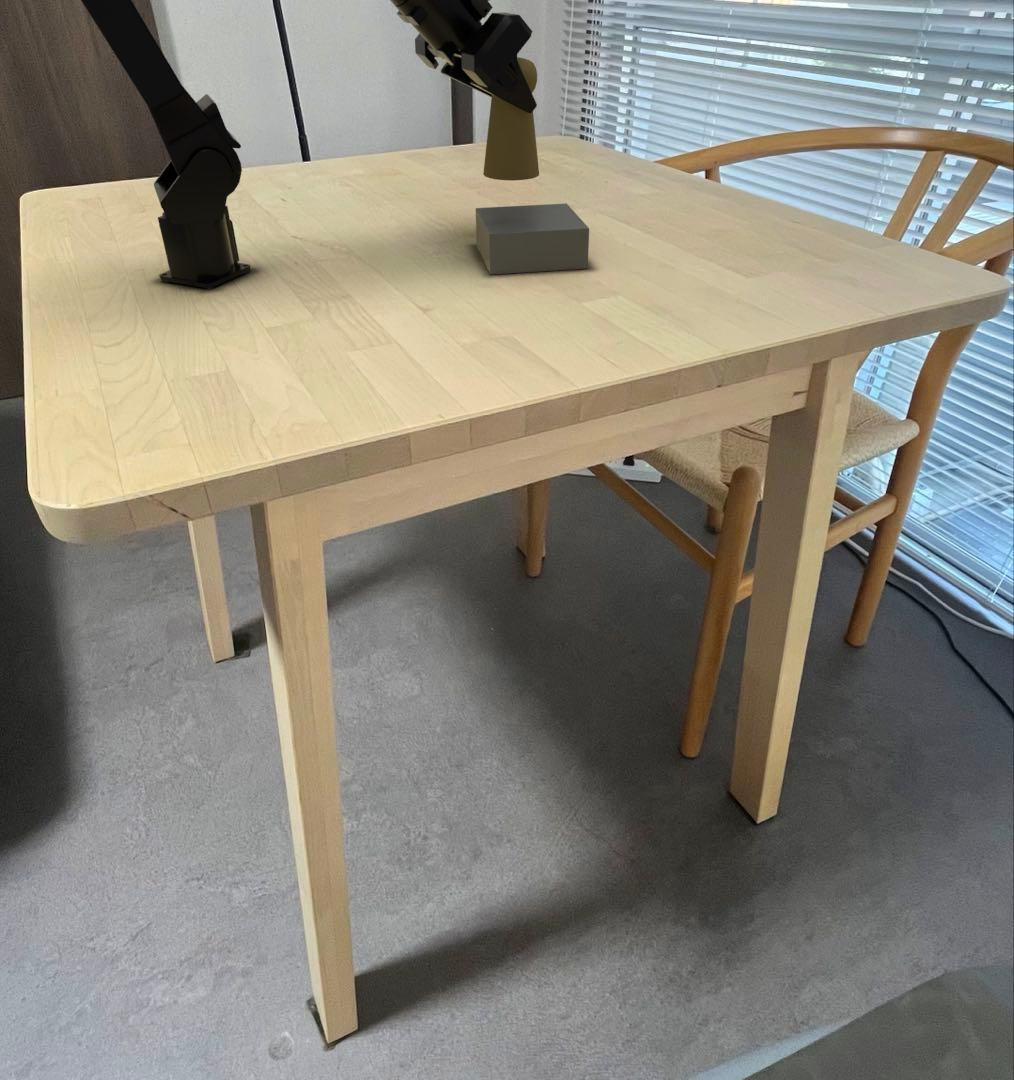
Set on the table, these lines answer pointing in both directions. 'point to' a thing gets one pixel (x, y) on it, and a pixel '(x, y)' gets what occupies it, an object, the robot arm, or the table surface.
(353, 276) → the table surface
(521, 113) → the olive brown pawn
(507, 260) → the grey block
